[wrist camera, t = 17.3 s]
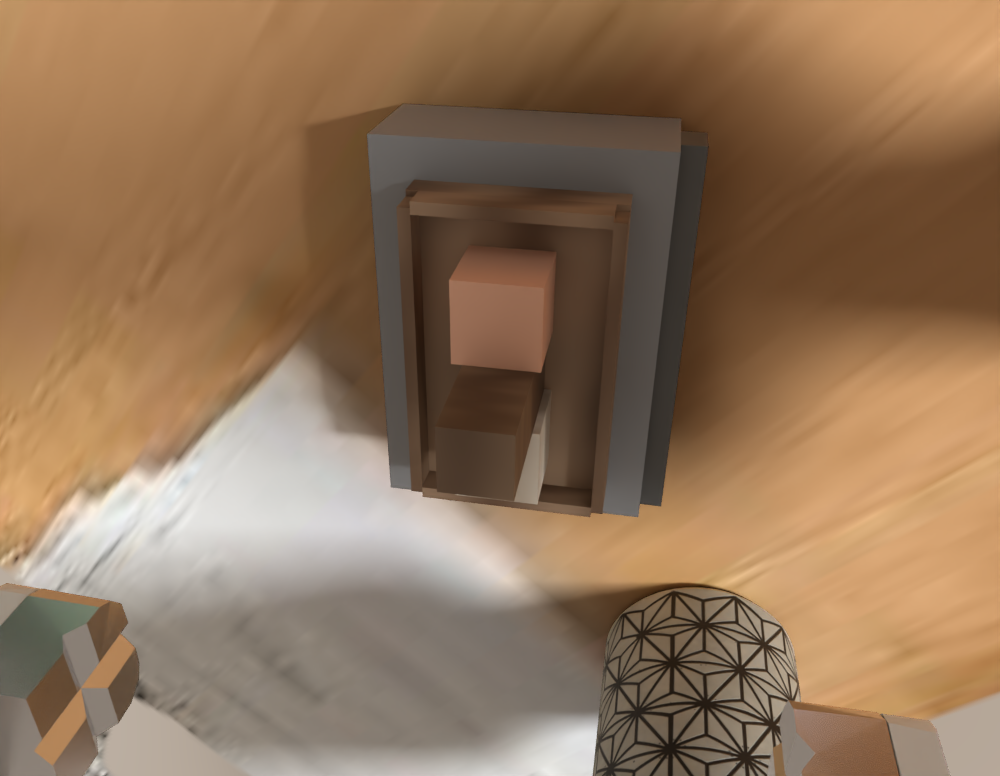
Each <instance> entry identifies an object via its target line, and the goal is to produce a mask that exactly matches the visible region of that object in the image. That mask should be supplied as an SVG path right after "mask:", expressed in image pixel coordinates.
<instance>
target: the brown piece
mask: <svg viewBox="0 0 1000 776" xmlns="http://www.w3.org/2000/svg"><path fill="white" fill-rule="evenodd" d="M405 191H406V197H405V198H404V199H403V200H402V201H401V202H400V204H399V205H398V206H397V207H396V209H397V228H398V247H399V266H400V285H401V304H402V323H403V342H404V361H405V380H406V399H407V418H408V437H409V456H410V475H411V491H418V492H422V493H423V497H430V498H438V499H446V500H455V501H463V502H471V503H479V504H487V505H495V506H504V507H512V508H520V509H528V510H536V511H544V512H553V513H561V514H569V515H577V516H585V517H590V515H591V513H599V514H602V513H603V506H604V499H605V491H606V483H607V472H608V461H609V450H610V439H611V428H612V417H613V406H614V395H615V384H616V373H617V362H618V351H619V340H620V329H621V318H622V307H623V296H624V285H625V274H626V262H627V251H628V240H629V229H630V218H631V207H632V196H633V194H623V193H608V192H593V191H578V190H563V189H548V188H533V187H518V186H503V185H488V184H473V183H458V182H444V181H429V180H413V182H412V183H411V184H410V185H409V186H408V187H407V188H406V190H405ZM469 245H474V246H487V247H500V248H513V249H526V250H539V251H552V252H556V271H555V293H554V315H553V332H552V336H551V339H550V343H549V346H548V350H547V353H546V357H545V360H544V364H543V367H542V371H541V373H538V372H528V371H518V370H508V369H497V368H487V367H477V366H467V365H457V364H451V345H450V299H449V279H450V278H451V276H452V274H453V272H454V271H455V269H456V267H457V265H458V264H459V262H460V260H461V258H462V257H463V255H464V253H465V251H466V250H467V248H468V246H469ZM544 389H548V390H551V411H550V434H549V457H548V461H547V465H546V470H545V474H544V478H543V483H542V487H541V491H540V496H539V500H538V504H529V503H521V502H512V501H514V500H515V496H516V492H517V488H518V485H519V481H520V477H521V474H522V470H523V466H524V463H525V459H526V455H527V451H528V448H529V444H530V440H531V437H532V433H533V429H534V425H535V422H536V418H537V414H538V411H539V407H540V403H541V400H542V396H543V392H544ZM455 494H458V495H455ZM462 495H466V496H462ZM470 496H474V497H470ZM479 497H482V498H479ZM487 498H491V499H487ZM496 499H499V500H496ZM504 500H507V501H504Z"/></svg>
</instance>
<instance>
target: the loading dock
mask: <svg viewBox="0 0 1000 776" xmlns="http://www.w3.org/2000/svg"><path fill="white" fill-rule="evenodd" d="M367 141H368V156H369V171H370V186H371V200H372V215H373V230H374V245H375V259H376V274H377V289H378V304H379V318H380V333H381V348H382V363H383V377H384V392H385V407H386V422H387V436H388V451H389V466H390V481H391V487H393V488H402V489H410V490H411V475H410V456H409V437H408V418H407V399H406V380H405V361H404V342H403V323H402V304H401V285H400V266H399V247H398V228H397V209H396V207H397V206H398V205H399V204H400V202H401V201H402V200H403V199H404V198H405V197H406V191H405V190H406V188H407V187H408V186H409V185H410V184H411V183H412V182H413V180H429V181H444V182H458V183H473V184H488V185H503V186H518V187H533V188H548V189H563V190H578V191H593V192H608V193H623V194H633V196H632V207H631V218H630V229H629V240H628V251H627V262H626V274H625V285H624V296H623V307H622V318H621V329H620V340H619V351H618V362H617V373H616V384H615V395H614V406H613V417H612V428H611V439H610V450H609V461H608V472H607V483H606V491H605V499H604V506H603V513H608V514H616V515H624V516H633V517H638V515H639V506H640V504H646V505H655V506H661V502H662V494H663V487H664V479H665V472H666V464H667V457H668V449H669V442H670V434H671V427H672V419H673V411H674V404H675V396H676V389H677V381H678V374H679V366H680V359H681V351H682V343H683V336H684V328H685V321H686V313H687V306H688V298H689V291H690V283H691V275H692V268H693V260H694V253H695V245H696V238H697V230H698V223H699V215H700V208H701V200H702V192H703V185H704V177H705V170H706V162H707V155H708V147H709V146H708V134H707V132H689V131H681V118H663V117H644V116H625V115H607V114H588V113H569V112H550V111H532V110H513V109H494V108H476V107H457V106H438V105H420V104H402V105H401V106H400V107H398V108H397V109H396V110H395V111H394V112H393V113H391V114H390V115H389V116H388V117H387V118H385V119H384V120H383V121H382V122H381V123H379V124H378V125H377V126H376V127H375V128H373V129H372V130H371V131H370V132H369V133H367Z"/></svg>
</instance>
